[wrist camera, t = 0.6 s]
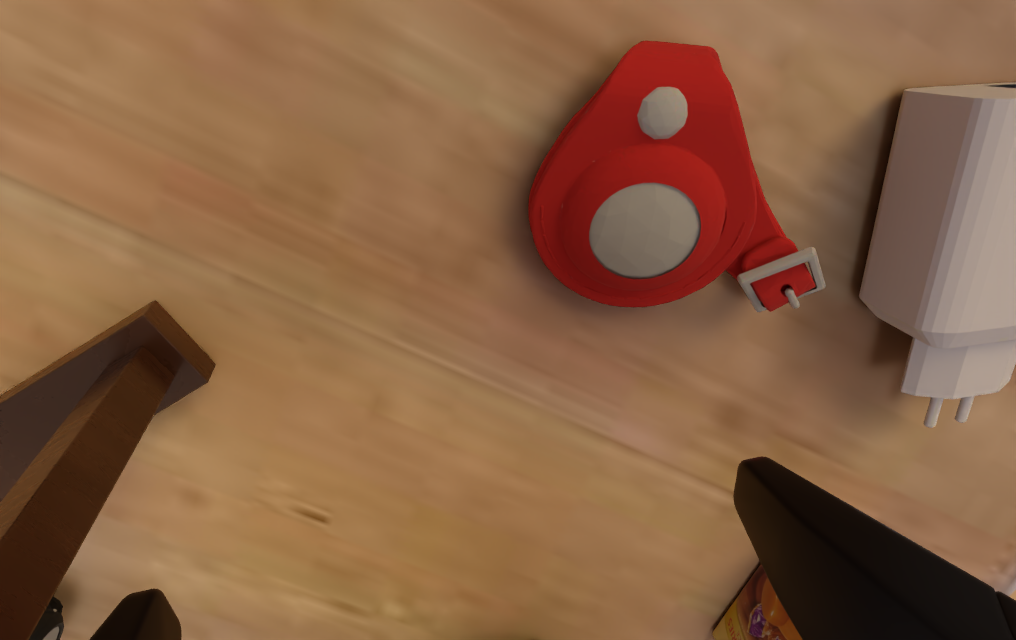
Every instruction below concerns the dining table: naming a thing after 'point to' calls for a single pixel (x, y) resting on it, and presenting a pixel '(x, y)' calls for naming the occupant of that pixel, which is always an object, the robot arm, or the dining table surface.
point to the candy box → (756, 614)
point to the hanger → (79, 448)
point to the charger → (949, 242)
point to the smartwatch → (50, 623)
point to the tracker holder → (662, 191)
